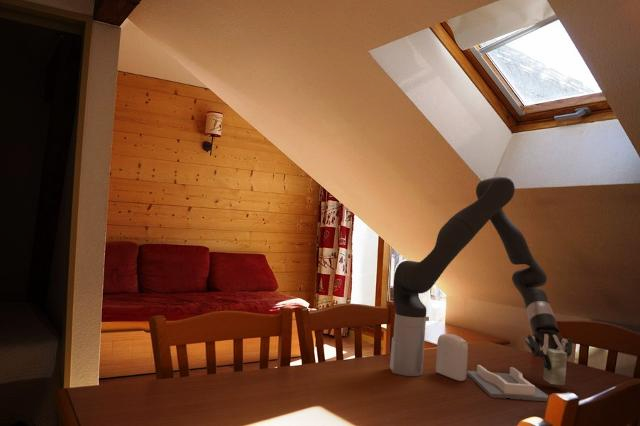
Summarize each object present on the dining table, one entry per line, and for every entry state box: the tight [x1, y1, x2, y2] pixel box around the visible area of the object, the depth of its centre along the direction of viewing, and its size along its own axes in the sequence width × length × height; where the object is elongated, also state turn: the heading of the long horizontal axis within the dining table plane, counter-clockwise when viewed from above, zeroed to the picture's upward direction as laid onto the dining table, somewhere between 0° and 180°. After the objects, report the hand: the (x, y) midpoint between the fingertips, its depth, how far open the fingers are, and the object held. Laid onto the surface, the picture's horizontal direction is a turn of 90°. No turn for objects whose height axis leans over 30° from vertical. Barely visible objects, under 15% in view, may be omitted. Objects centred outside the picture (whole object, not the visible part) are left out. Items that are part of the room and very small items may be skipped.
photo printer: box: [435, 333, 469, 382], centre depth 157 cm, size 10×4×12 cm, turn 29°
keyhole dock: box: [466, 364, 549, 402], centre depth 150 cm, size 16×22×4 cm
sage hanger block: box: [542, 348, 568, 386], centre depth 153 cm, size 4×5×9 cm
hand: (557, 369), depth 151 cm, fingers closed on sage hanger block, 4 cm apart
